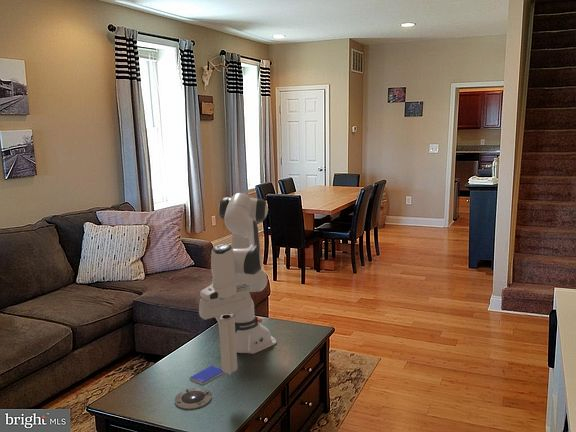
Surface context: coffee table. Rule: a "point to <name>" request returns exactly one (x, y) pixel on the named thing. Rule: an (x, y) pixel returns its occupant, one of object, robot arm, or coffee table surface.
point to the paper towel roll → (228, 343)
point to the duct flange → (193, 398)
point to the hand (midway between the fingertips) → (227, 324)
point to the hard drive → (206, 375)
